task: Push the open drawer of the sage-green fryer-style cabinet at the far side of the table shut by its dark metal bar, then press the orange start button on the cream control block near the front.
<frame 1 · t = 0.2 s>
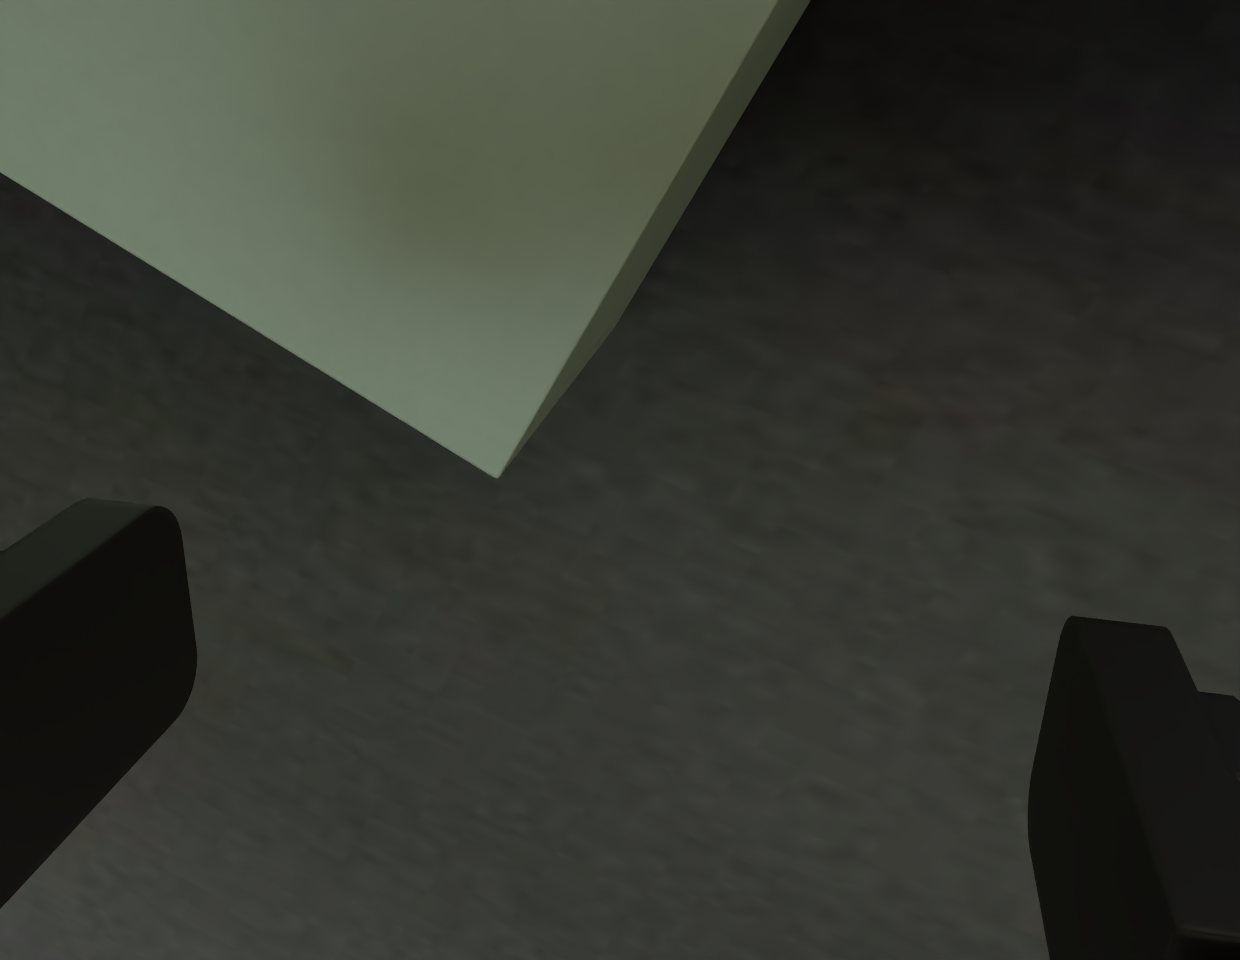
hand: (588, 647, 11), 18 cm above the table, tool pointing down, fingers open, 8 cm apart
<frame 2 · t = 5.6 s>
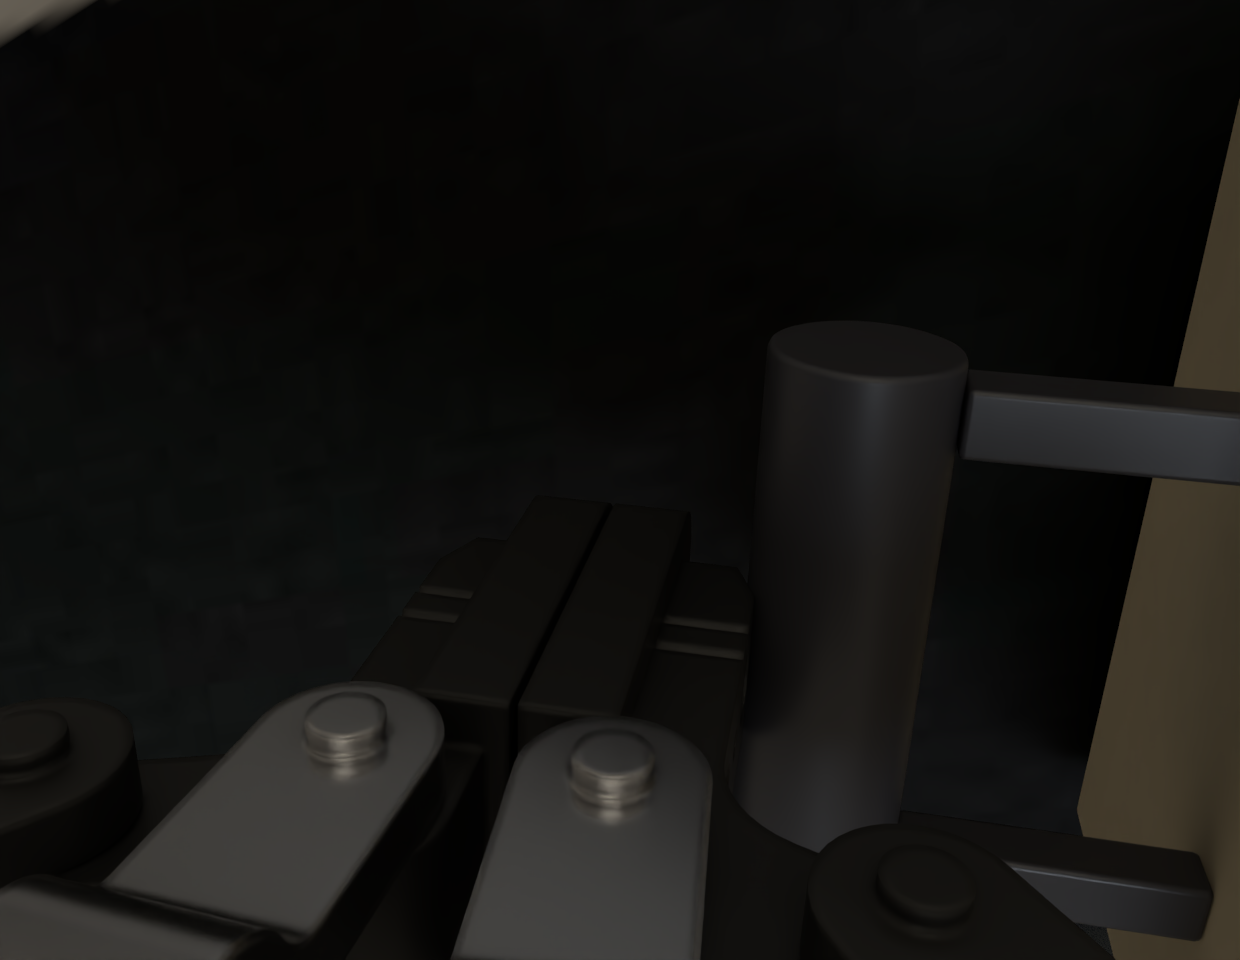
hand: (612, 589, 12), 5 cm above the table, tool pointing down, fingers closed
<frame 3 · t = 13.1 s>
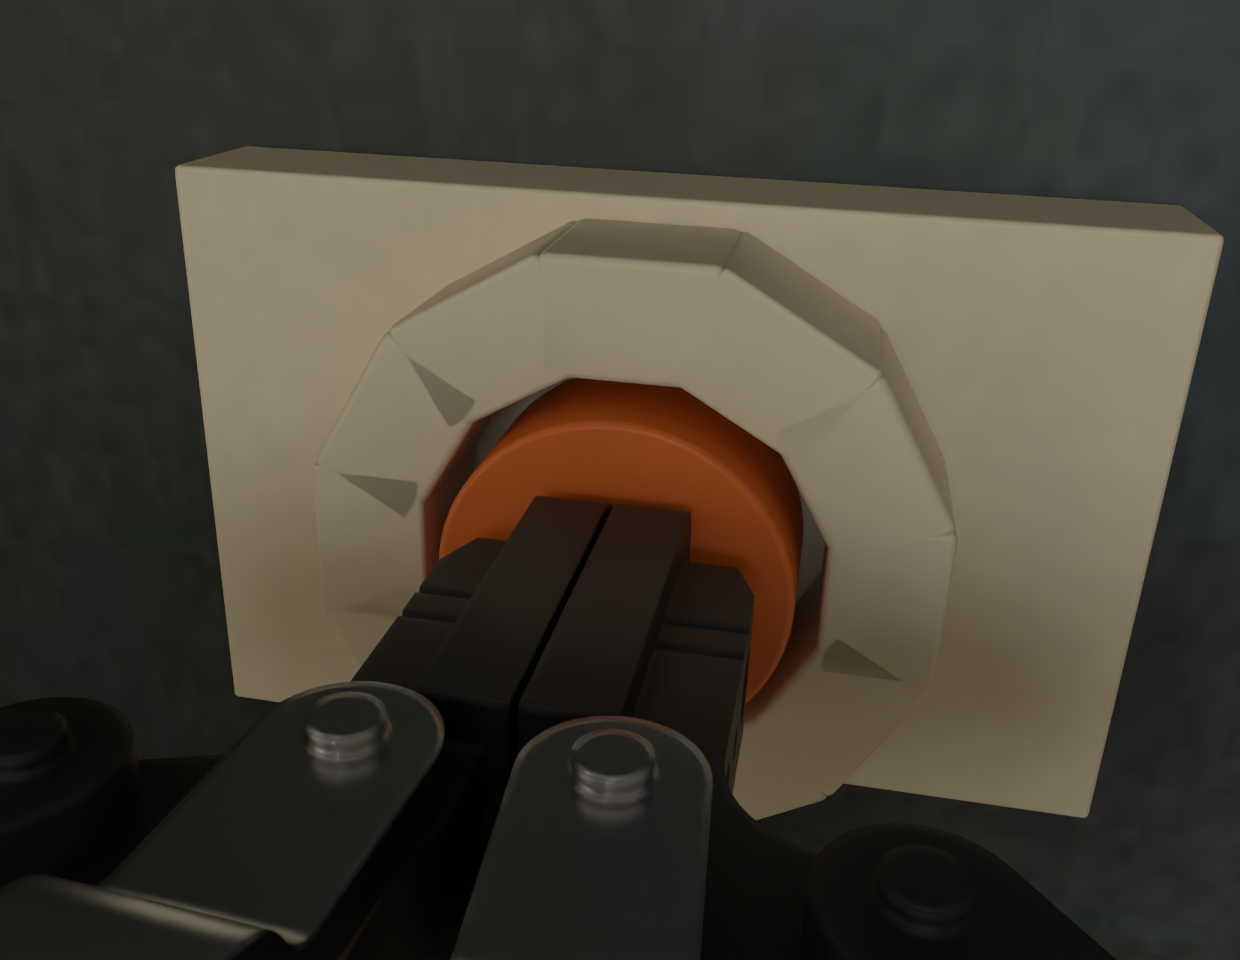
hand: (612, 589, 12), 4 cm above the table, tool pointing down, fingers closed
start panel: (669, 451, 15), on the table
start button: (626, 554, 12), point 3 cm above the table, slide at -0.9 cm, touching gripper
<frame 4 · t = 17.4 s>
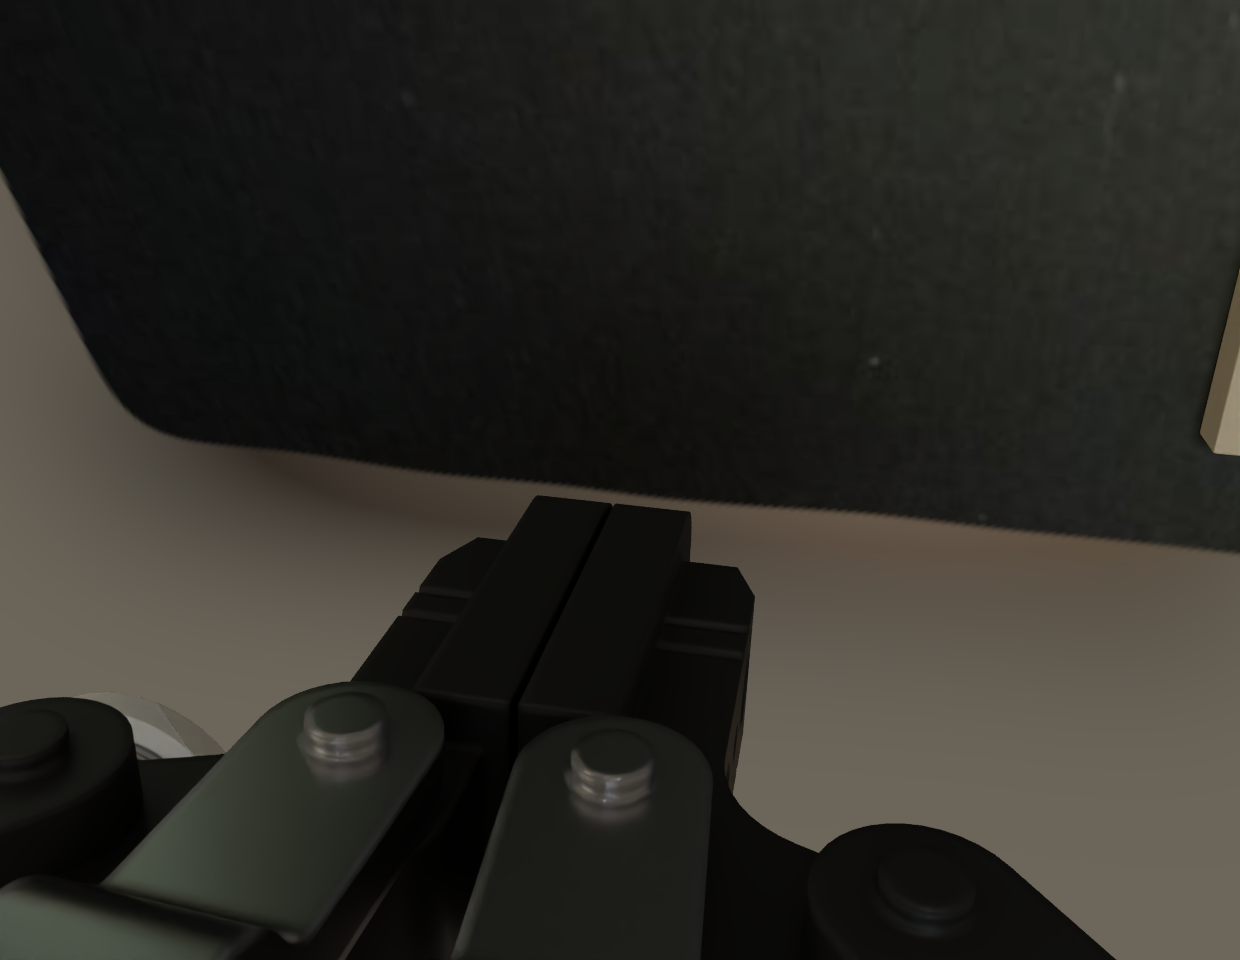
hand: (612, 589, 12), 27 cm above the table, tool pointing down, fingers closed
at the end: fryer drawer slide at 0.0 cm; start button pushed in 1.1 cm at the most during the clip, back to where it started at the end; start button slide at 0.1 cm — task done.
